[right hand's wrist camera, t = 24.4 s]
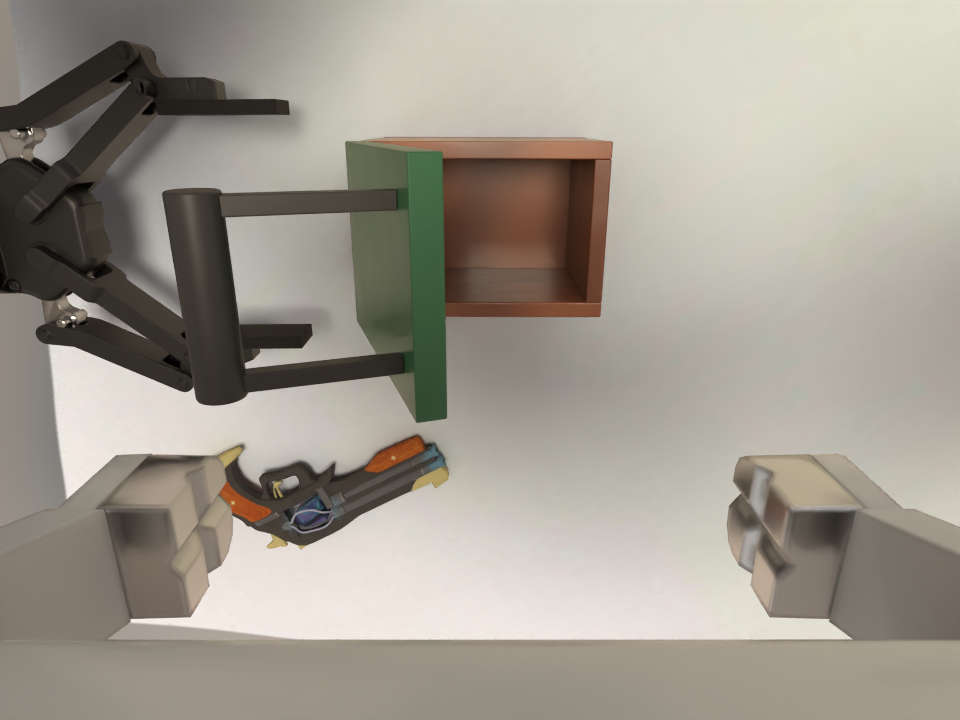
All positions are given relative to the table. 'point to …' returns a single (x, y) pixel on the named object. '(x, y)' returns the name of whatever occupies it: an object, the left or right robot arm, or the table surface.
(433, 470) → the toy gun
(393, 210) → the lid
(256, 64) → the table surface
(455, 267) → the chest
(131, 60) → the left robot arm
